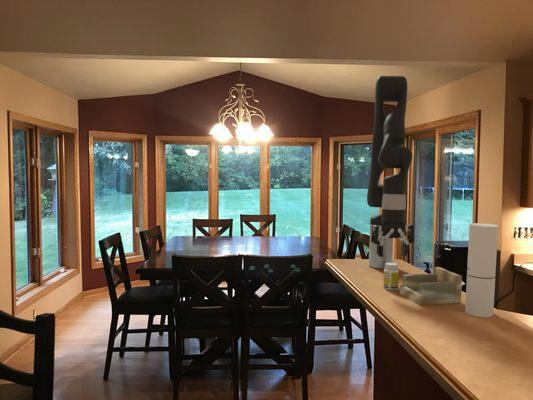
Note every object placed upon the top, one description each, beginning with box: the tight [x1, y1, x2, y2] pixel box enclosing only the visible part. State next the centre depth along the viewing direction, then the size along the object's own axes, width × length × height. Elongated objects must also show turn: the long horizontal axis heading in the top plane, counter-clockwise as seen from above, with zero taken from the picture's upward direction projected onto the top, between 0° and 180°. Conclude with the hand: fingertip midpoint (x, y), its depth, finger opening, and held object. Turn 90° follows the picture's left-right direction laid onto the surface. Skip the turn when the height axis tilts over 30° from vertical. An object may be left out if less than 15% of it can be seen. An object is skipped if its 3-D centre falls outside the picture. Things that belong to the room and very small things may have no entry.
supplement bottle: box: [383, 262, 400, 291], centre depth 148 cm, size 5×5×8 cm
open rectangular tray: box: [399, 266, 463, 306], centre depth 138 cm, size 12×14×8 cm
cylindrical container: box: [464, 222, 499, 318], centre depth 124 cm, size 7×7×25 cm
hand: (392, 256), depth 148 cm, fingers open, 8 cm apart
